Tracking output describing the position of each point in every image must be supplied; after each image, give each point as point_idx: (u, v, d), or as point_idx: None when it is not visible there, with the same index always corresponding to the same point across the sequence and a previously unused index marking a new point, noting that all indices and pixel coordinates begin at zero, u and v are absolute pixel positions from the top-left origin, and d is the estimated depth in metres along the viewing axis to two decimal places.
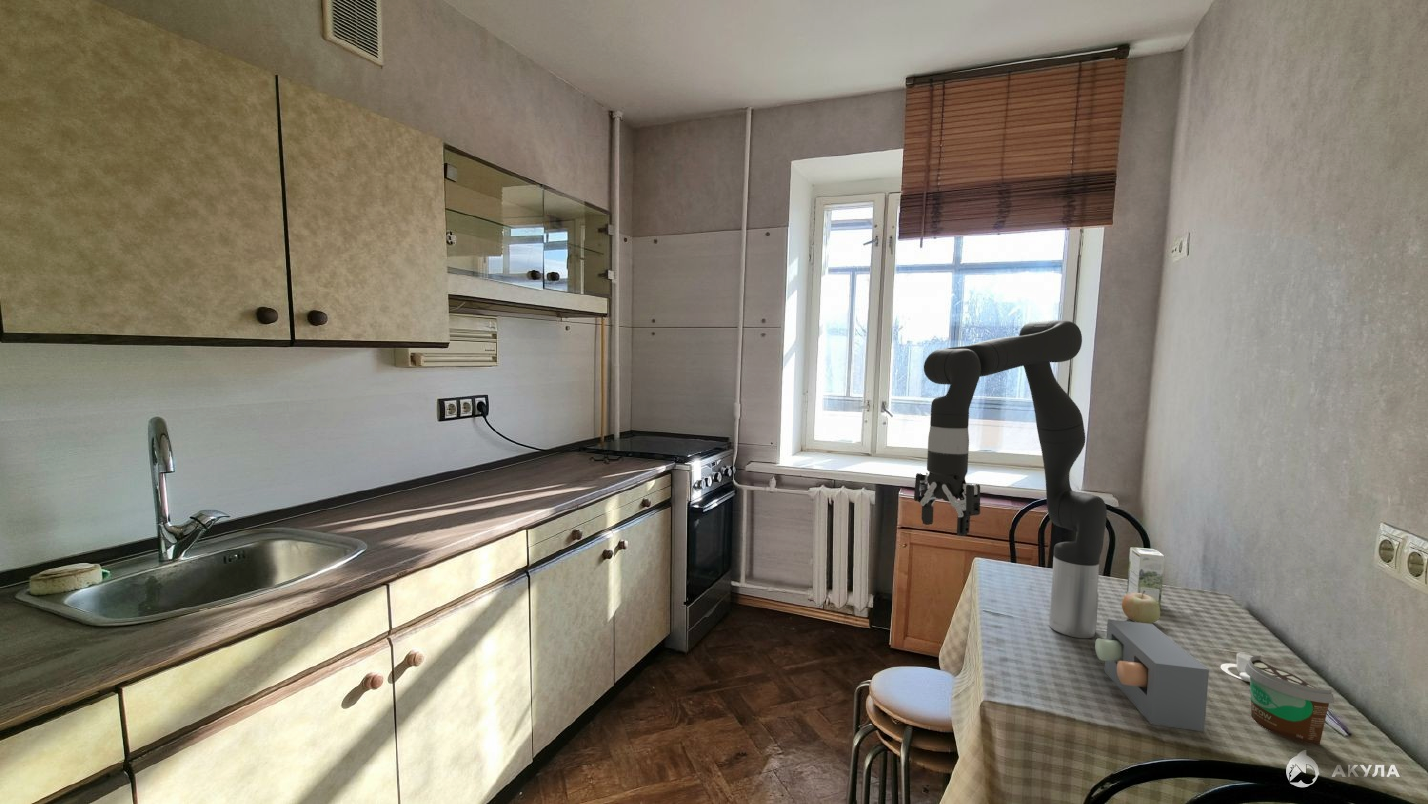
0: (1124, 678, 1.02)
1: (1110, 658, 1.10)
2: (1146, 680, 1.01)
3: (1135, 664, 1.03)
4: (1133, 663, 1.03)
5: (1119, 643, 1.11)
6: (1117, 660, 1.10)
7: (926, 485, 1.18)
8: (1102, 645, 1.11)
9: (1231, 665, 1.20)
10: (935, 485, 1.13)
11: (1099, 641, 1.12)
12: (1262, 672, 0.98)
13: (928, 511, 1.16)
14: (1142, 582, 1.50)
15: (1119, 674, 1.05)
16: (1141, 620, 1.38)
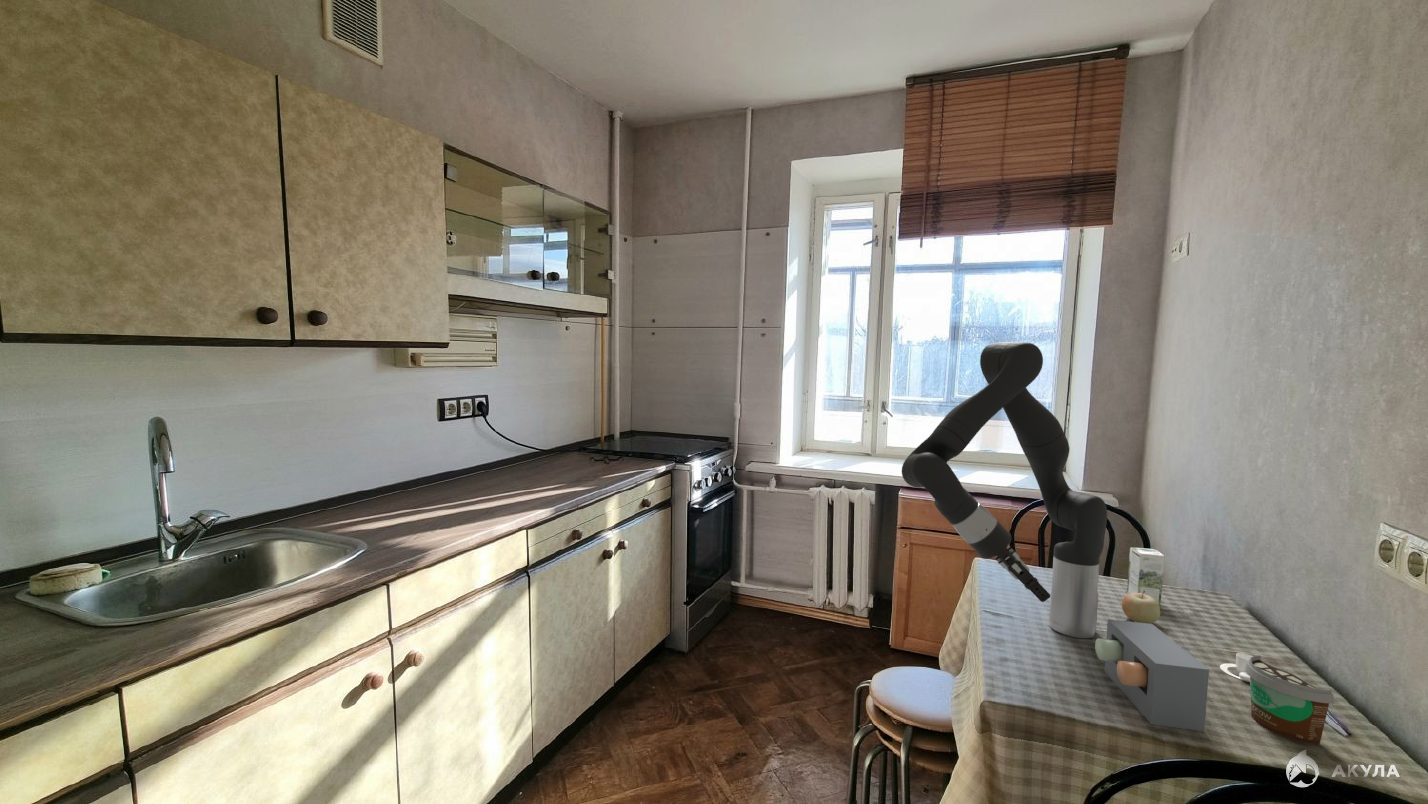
0: (1124, 678, 1.02)
1: (1110, 658, 1.10)
2: (1146, 680, 1.01)
3: (1135, 664, 1.03)
4: (1133, 663, 1.03)
5: (1119, 643, 1.11)
6: (1117, 660, 1.10)
7: None
8: (1102, 645, 1.11)
9: (1230, 665, 1.20)
10: (997, 560, 1.16)
11: (1099, 641, 1.12)
12: (1262, 672, 0.98)
13: (1025, 578, 1.17)
14: (1142, 582, 1.50)
15: (1119, 674, 1.05)
16: (1141, 620, 1.38)
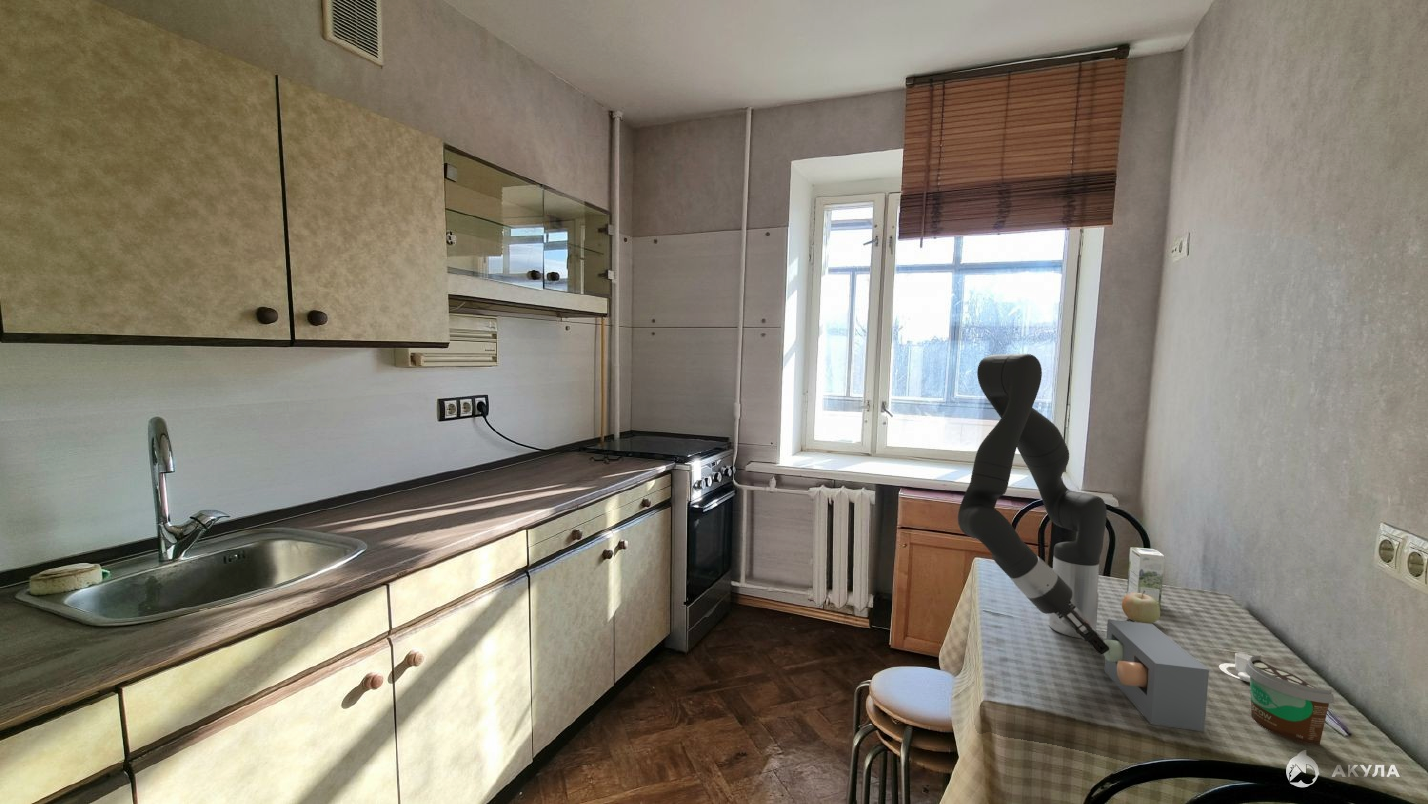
0: (1124, 678, 1.02)
1: (1117, 659, 1.10)
2: (1146, 680, 1.01)
3: (1135, 664, 1.03)
4: (1133, 663, 1.03)
5: None
6: None
7: None
8: (1110, 646, 1.11)
9: (1229, 665, 1.20)
10: (1055, 614, 1.15)
11: (1107, 641, 1.12)
12: (1262, 672, 0.98)
13: None
14: (1142, 582, 1.50)
15: (1119, 674, 1.05)
16: (1141, 620, 1.38)
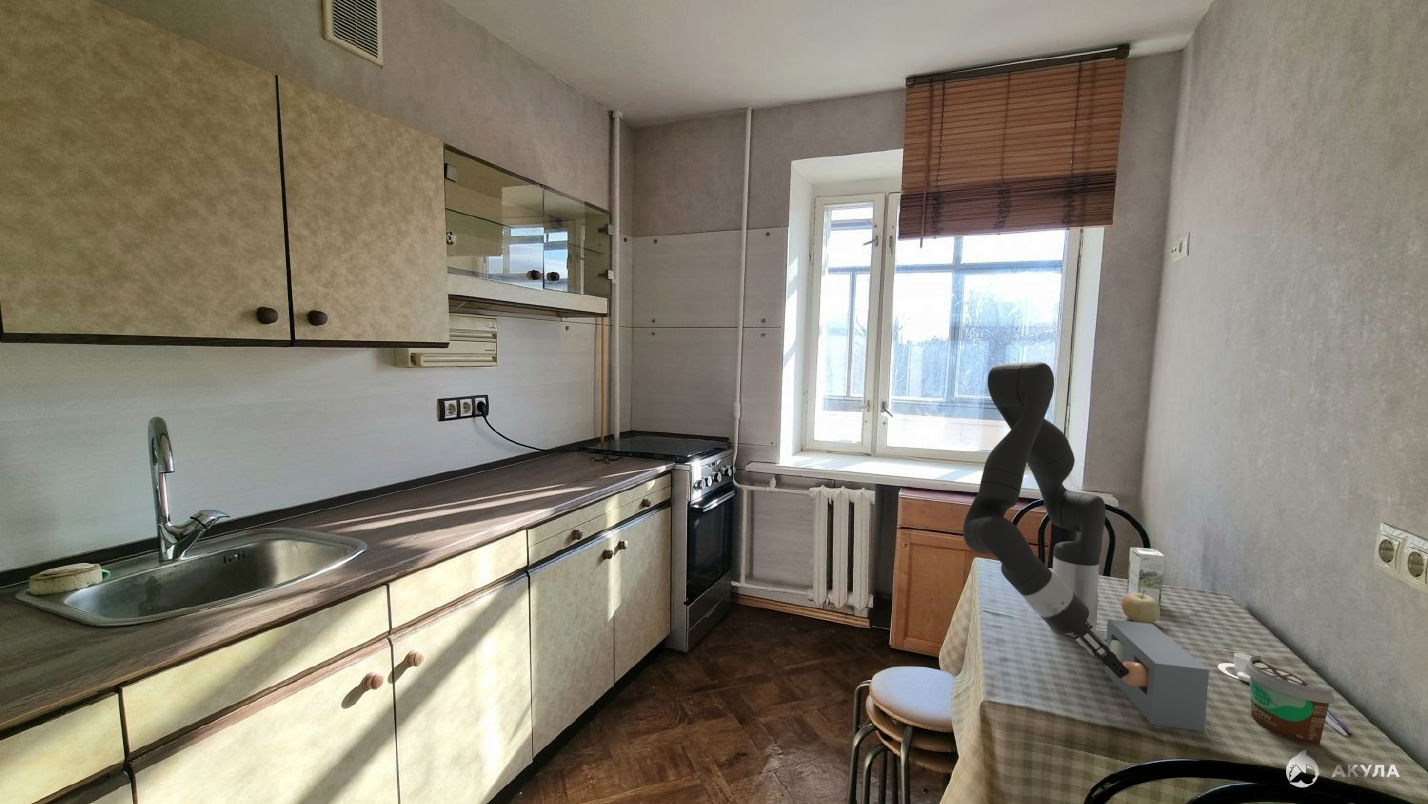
0: (1129, 679, 1.02)
1: None
2: None
3: (1140, 665, 1.02)
4: (1138, 664, 1.03)
5: None
6: None
7: None
8: (1117, 646, 1.10)
9: (1228, 665, 1.20)
10: (1070, 633, 1.06)
11: (1114, 642, 1.12)
12: (1262, 672, 0.98)
13: None
14: (1142, 582, 1.50)
15: None
16: (1141, 620, 1.38)
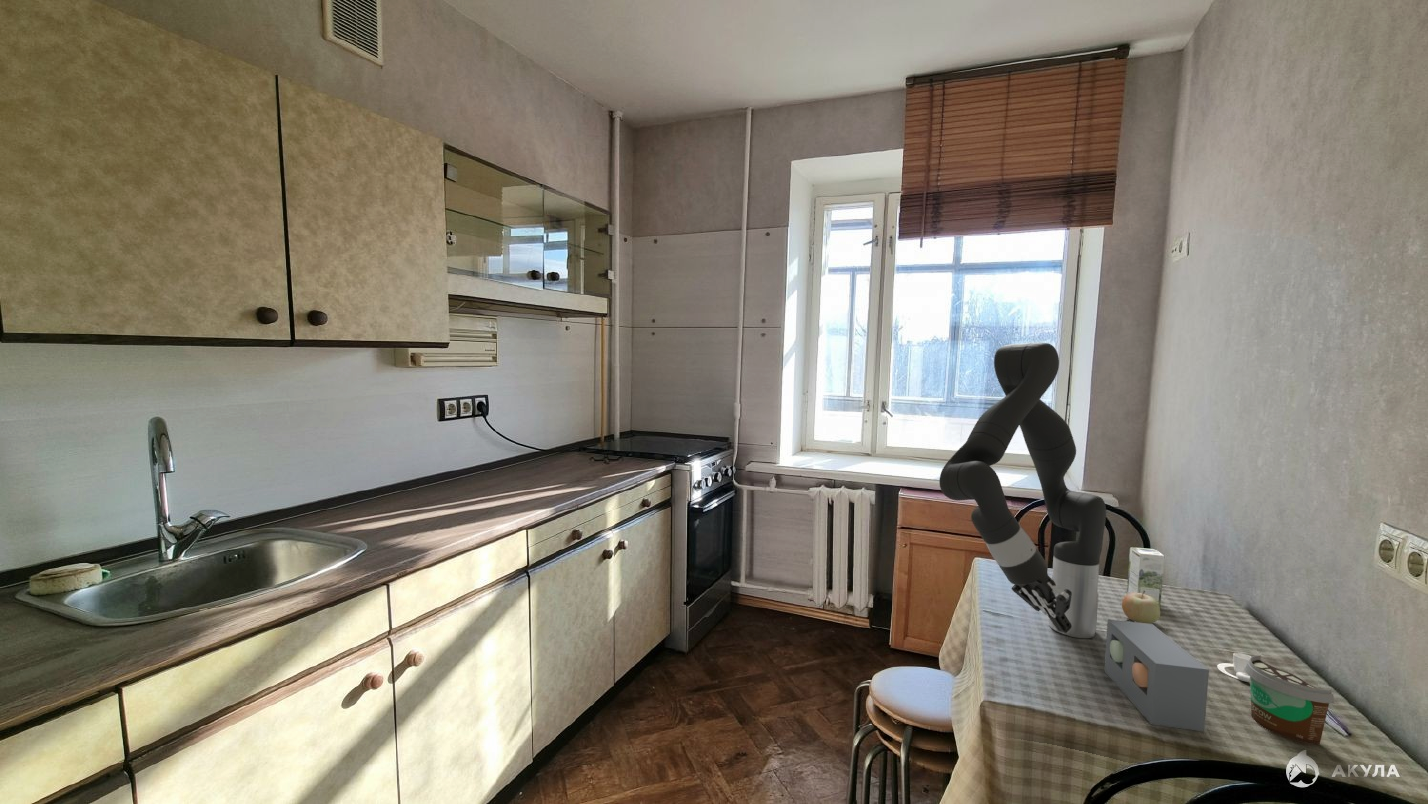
0: (1140, 680, 1.02)
1: None
2: None
3: None
4: None
5: None
6: None
7: None
8: (1117, 646, 1.10)
9: (1227, 665, 1.20)
10: (1025, 589, 1.07)
11: (1114, 642, 1.12)
12: (1262, 672, 0.98)
13: None
14: (1142, 582, 1.50)
15: (1134, 676, 1.04)
16: (1141, 620, 1.38)
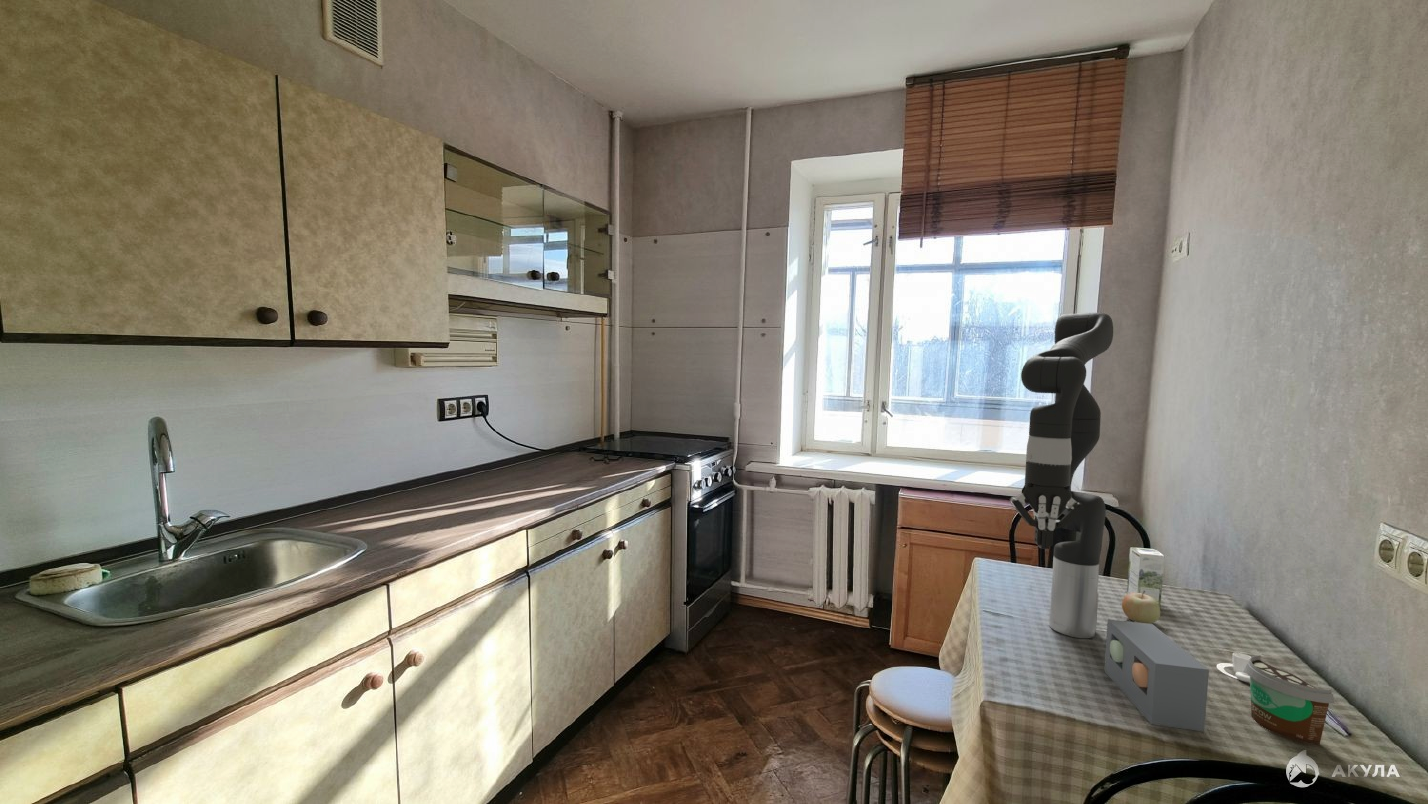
0: (1140, 680, 1.02)
1: None
2: None
3: None
4: None
5: None
6: None
7: None
8: (1117, 646, 1.10)
9: (1227, 665, 1.20)
10: (1044, 497, 1.08)
11: (1114, 642, 1.12)
12: (1262, 672, 0.98)
13: None
14: (1142, 582, 1.50)
15: (1134, 676, 1.04)
16: (1141, 620, 1.38)
